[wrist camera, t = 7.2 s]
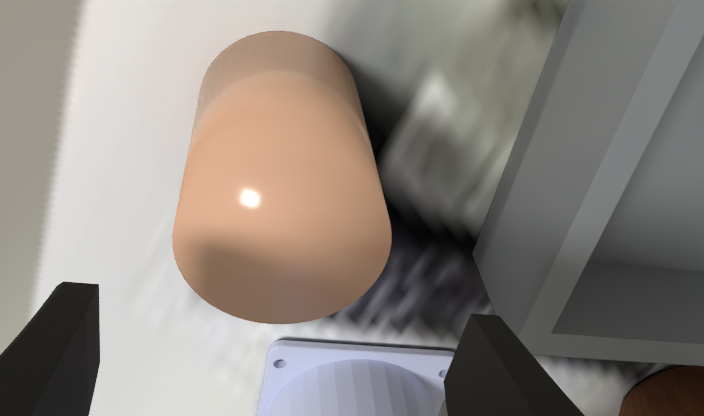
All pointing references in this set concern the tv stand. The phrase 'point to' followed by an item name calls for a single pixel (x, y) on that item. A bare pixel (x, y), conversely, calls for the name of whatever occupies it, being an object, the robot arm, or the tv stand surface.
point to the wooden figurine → (668, 394)
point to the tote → (607, 191)
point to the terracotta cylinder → (280, 185)
